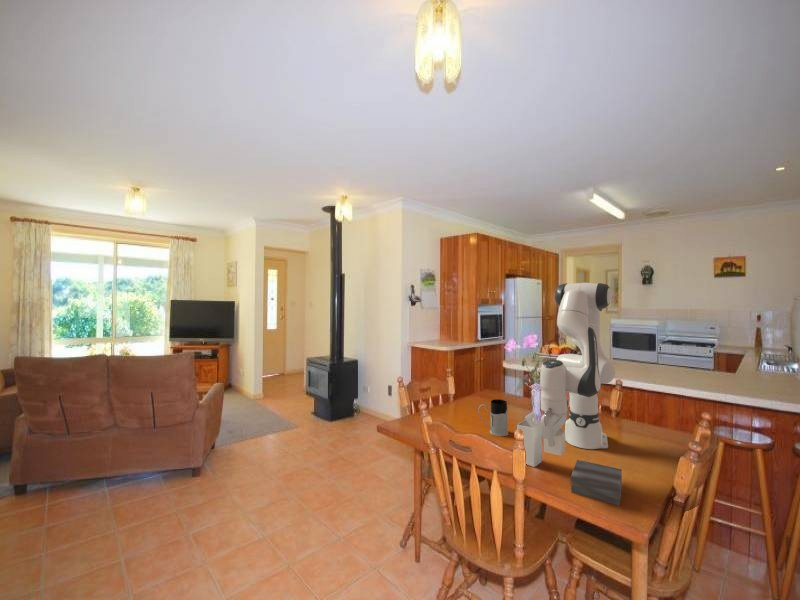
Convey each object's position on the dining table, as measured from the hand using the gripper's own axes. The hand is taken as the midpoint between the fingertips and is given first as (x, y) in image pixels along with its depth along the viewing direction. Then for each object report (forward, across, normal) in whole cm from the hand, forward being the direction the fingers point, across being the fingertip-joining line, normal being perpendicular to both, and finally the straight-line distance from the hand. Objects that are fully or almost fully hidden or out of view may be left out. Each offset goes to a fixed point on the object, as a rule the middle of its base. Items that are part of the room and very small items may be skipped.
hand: (554, 442), depth 132 cm
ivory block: (+3, 0, 0) cm, 3 cm away
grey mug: (+13, +24, +35) cm, 45 cm away
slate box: (+13, -1, -14) cm, 19 cm away
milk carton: (+13, +5, +11) cm, 18 cm away
